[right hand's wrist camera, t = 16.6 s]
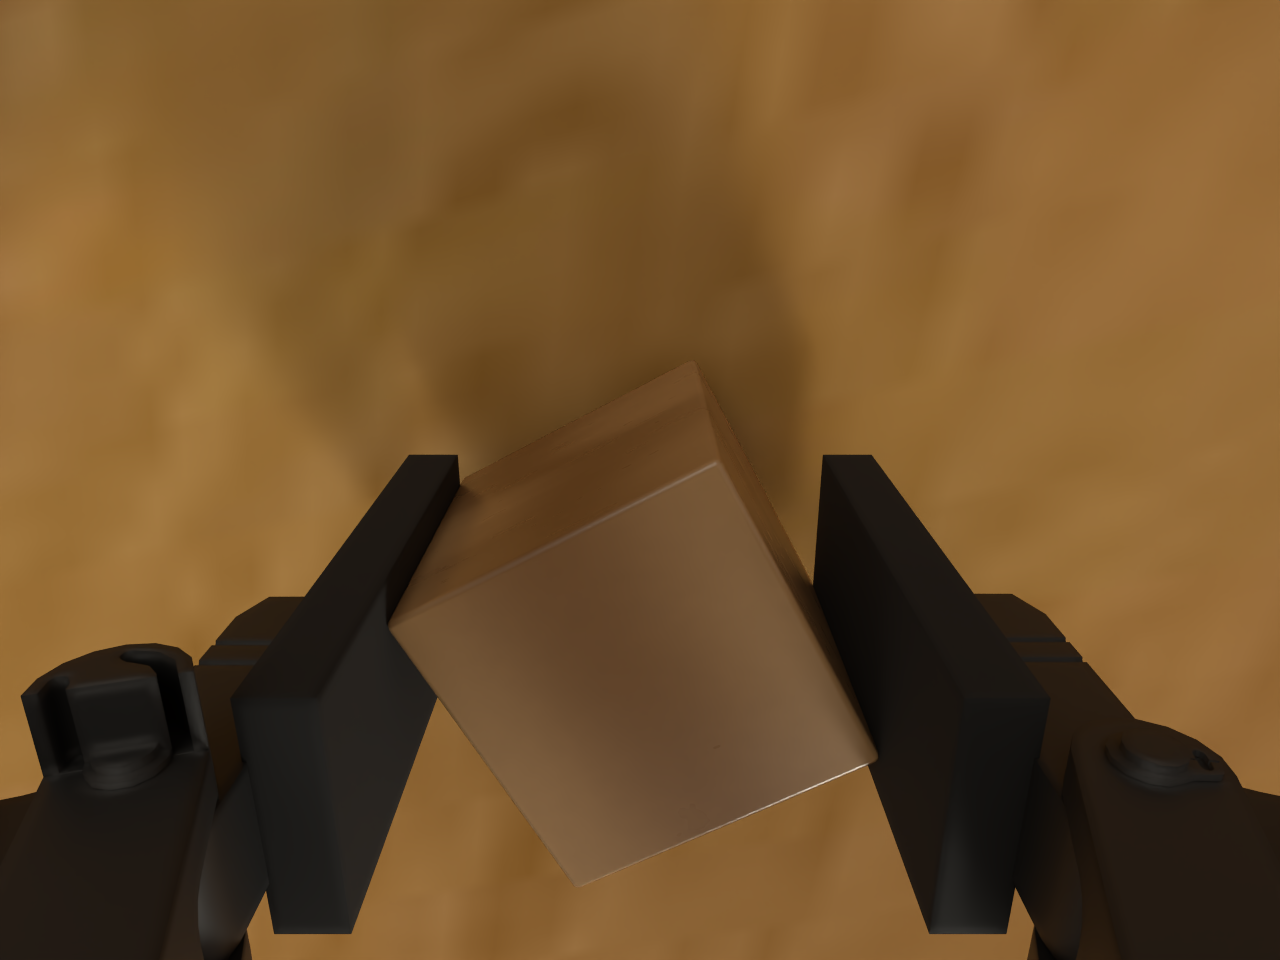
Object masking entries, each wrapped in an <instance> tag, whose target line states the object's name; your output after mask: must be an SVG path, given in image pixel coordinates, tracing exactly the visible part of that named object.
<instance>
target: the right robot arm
mask: <svg viewBox="0 0 1280 960" xmlns="http://www.w3.org/2000/svg"><path fill="white" fill-rule="evenodd" d="M459 487H460V479H459V466H458V455H409V456H408V457H407V458H406V460H405V461H404V462H403V464H402V465H401V467H400V468H399V469H398V471H397V472H396V473H395V475H394V476H393V477H392V479H391V480H390V482H389V483H388V484H387V486H386V487H385V488H384V490H383V491H382V492H381V494H380V495H379V496H378V498H377V499H376V501H375V502H374V503H373V505H372V506H371V507H370V509H369V510H368V511H367V513H366V514H365V515H364V517H363V518H362V520H361V521H360V522H359V524H358V525H357V526H356V528H355V529H354V530H353V532H352V533H351V534H350V536H349V537H348V539H347V540H346V541H345V543H344V544H343V545H342V547H341V548H340V549H339V551H338V552H337V554H336V555H335V556H334V558H333V559H332V560H331V562H330V563H329V564H328V566H327V567H326V568H325V570H324V571H323V573H322V574H321V575H320V577H319V578H318V579H317V581H316V582H315V583H314V585H313V586H312V587H311V589H310V590H309V592H308V593H307V594H306V596H305V597H268V598H267V599H265V600H263V601H262V602H260V603H258V604H257V605H255V606H253V607H252V608H250V609H248V610H247V611H245V612H243V613H242V614H240V615H238V616H237V617H235V619H234V620H233V621H232V622H231V623H230V624H229V626H228V627H227V628H226V629H225V630H224V632H223V633H222V634H221V635H220V636H219V637H218V639H217V640H216V645H212V646H211V647H210V648H209V649H208V650H207V652H206V653H205V654H204V655H203V656H202V657H201V659H200V660H199V665H195V666H194V667H193V662H192V657H191V656H189V655H188V654H186V653H185V652H184V651H182V650H181V649H180V648H178V647H173V646H167V645H162V644H157V643H150V644H129V645H122V646H118V647H113V648H108V649H104V650H99V651H94V652H92V653H89V654H86V655H84V656H81V657H78V658H76V659H73V660H71V661H68V662H65V663H63V664H61V665H59V666H58V667H56V668H54V669H53V670H51V671H49V672H48V673H46V674H44V675H43V676H41V677H39V678H38V679H36V680H35V681H34V683H33V684H32V685H31V686H30V687H29V688H28V689H27V690H26V691H25V692H24V693H23V694H22V695H21V699H22V703H23V706H24V710H25V713H26V717H27V720H28V724H29V727H30V731H31V735H32V738H33V742H34V745H35V749H36V752H37V756H38V759H39V763H40V766H41V770H42V773H43V779H42V781H41V784H40V786H39V788H38V790H37V792H35V793H31V794H27V795H23V796H18V797H13V798H8V799H4V800H0V960H252V956H251V949H250V944H249V939H248V934H247V927H248V925H249V923H250V921H251V919H252V917H253V915H254V913H255V911H256V909H257V907H258V905H259V903H260V901H261V899H262V897H263V895H264V893H265V891H266V893H267V898H268V903H269V908H270V914H271V919H272V924H273V930H274V934H351V933H352V930H353V928H354V925H355V922H356V919H357V917H358V914H359V911H360V908H361V906H362V903H363V900H364V897H365V895H366V892H367V889H368V887H369V884H370V881H371V878H372V876H373V873H374V870H375V867H376V865H377V862H378V859H379V856H380V854H381V851H382V848H383V845H384V843H385V840H386V837H387V834H388V832H389V829H390V826H391V823H392V821H393V818H394V815H395V812H396V810H397V807H398V804H399V801H400V799H401V796H402V793H403V790H404V788H405V785H406V782H407V779H408V777H409V774H410V771H411V768H412V766H413V763H414V760H415V757H416V755H417V752H418V749H419V746H420V744H421V741H422V738H423V735H424V733H425V730H426V727H427V724H428V722H429V719H430V716H431V713H432V711H433V708H434V705H435V702H436V700H437V695H436V694H435V693H434V691H433V690H432V688H431V687H430V686H429V684H428V683H427V682H426V680H425V679H424V677H423V676H422V675H421V673H420V672H419V670H418V669H417V668H416V666H415V665H414V664H413V662H412V661H411V659H410V658H409V657H408V655H407V654H406V652H405V651H404V650H403V648H402V647H401V646H400V644H399V643H398V641H397V640H396V639H395V637H394V636H393V634H392V633H391V632H390V630H389V628H388V622H389V620H390V618H391V616H392V614H393V612H394V610H395V609H396V607H397V605H398V603H399V601H400V599H401V597H402V595H403V593H404V591H405V589H406V588H407V586H408V584H409V582H410V580H411V578H412V576H413V574H414V572H415V570H416V569H417V567H418V565H419V563H420V561H421V559H422V557H423V555H424V553H425V551H426V549H427V548H428V546H429V544H430V542H431V540H432V538H433V536H434V534H435V532H436V530H437V529H438V527H439V525H440V523H441V521H442V519H443V517H444V515H445V513H446V511H447V509H448V508H449V506H450V504H451V502H452V500H453V498H454V496H455V494H456V492H457V490H458V489H459ZM813 587H814V590H815V593H816V595H817V598H818V600H819V603H820V605H821V608H822V610H823V613H824V616H825V618H826V621H827V623H828V626H829V628H830V631H831V633H832V636H833V639H834V641H835V644H836V646H837V649H838V651H839V654H840V656H841V659H842V661H843V664H844V667H845V669H846V672H847V674H848V677H849V679H850V682H851V684H852V687H853V690H854V692H855V695H856V697H857V700H858V702H859V705H860V707H861V710H862V712H863V715H864V718H865V720H866V723H867V725H868V728H869V730H870V733H871V735H872V738H873V741H874V743H875V746H876V748H877V751H878V760H877V761H876V762H874V763H872V764H870V765H868V767H869V769H870V772H871V775H872V778H873V780H874V783H875V786H876V789H877V791H878V794H879V797H880V800H881V802H882V805H883V808H884V811H885V813H886V816H887V819H888V822H889V824H890V827H891V830H892V833H893V835H894V838H895V841H896V844H897V846H898V849H899V852H900V855H901V857H902V860H903V863H904V866H905V868H906V871H907V874H908V877H909V879H910V882H911V885H912V888H913V890H914V893H915V896H916V899H917V901H918V904H919V907H920V909H921V912H922V915H923V918H924V920H925V923H926V926H927V929H928V931H929V934H1006V933H1007V928H1008V923H1009V917H1010V912H1011V907H1012V901H1013V896H1014V891H1015V888H1016V889H1017V891H1018V893H1019V895H1020V897H1021V899H1022V901H1023V903H1024V905H1025V907H1026V909H1027V911H1028V913H1029V915H1030V917H1031V919H1032V921H1033V923H1034V929H1033V934H1032V939H1031V944H1030V949H1029V954H1028V959H1027V960H1280V796H1277V795H1272V794H1267V793H1262V792H1258V791H1254V790H1250V789H1246V788H1242V786H1241V784H1240V782H1239V780H1238V778H1237V776H1236V775H1235V773H1234V772H1233V771H1232V770H1231V768H1230V767H1229V766H1228V765H1227V763H1226V762H1225V761H1224V760H1223V758H1222V757H1221V756H1219V755H1218V754H1216V753H1215V752H1213V751H1212V750H1211V749H1209V748H1208V747H1206V746H1205V745H1203V744H1202V743H1201V742H1199V741H1198V740H1196V739H1194V738H1191V737H1189V736H1187V735H1185V734H1182V733H1180V732H1178V731H1175V730H1173V729H1171V728H1169V727H1166V726H1162V725H1158V724H1154V723H1150V722H1146V721H1142V720H1138V719H1135V718H1134V717H1133V716H1132V715H1131V713H1130V712H1129V711H1128V710H1127V709H1126V708H1125V706H1124V705H1123V704H1122V703H1121V702H1120V701H1119V699H1118V698H1117V697H1116V696H1115V695H1114V694H1113V692H1112V691H1111V690H1110V689H1109V688H1108V687H1107V685H1106V684H1105V683H1104V682H1103V681H1102V680H1101V678H1100V677H1099V676H1098V675H1097V674H1096V673H1095V671H1094V670H1093V669H1092V668H1091V667H1090V666H1089V664H1088V663H1087V662H1083V661H1082V656H1081V655H1080V654H1079V653H1078V652H1077V650H1076V649H1075V648H1074V647H1073V646H1072V645H1071V643H1070V642H1066V640H1065V639H1066V638H1065V636H1064V635H1063V634H1062V633H1061V632H1060V631H1059V629H1058V628H1057V627H1056V626H1055V625H1054V623H1053V622H1052V621H1051V620H1050V619H1049V618H1048V616H1047V615H1046V614H1044V613H1043V612H1041V611H1039V610H1038V609H1036V608H1034V607H1033V606H1031V605H1029V604H1028V603H1026V602H1024V601H1023V600H1021V599H1019V598H1018V597H1016V596H1014V595H1013V594H974V593H973V592H972V591H971V589H970V588H969V587H968V585H967V584H966V582H965V581H964V580H963V578H962V577H961V576H960V574H959V573H958V572H957V570H956V569H955V568H954V566H953V565H952V563H951V562H950V561H949V559H948V558H947V557H946V555H945V554H944V553H943V551H942V550H941V549H940V547H939V546H938V544H937V543H936V542H935V540H934V539H933V538H932V536H931V535H930V534H929V532H928V531H927V530H926V528H925V527H924V525H923V524H922V523H921V521H920V520H919V519H918V517H917V516H916V515H915V513H914V512H913V511H912V509H911V508H910V506H909V505H908V504H907V502H906V501H905V500H904V498H903V497H902V496H901V494H900V493H899V492H898V490H897V489H896V487H895V486H894V485H893V483H892V482H891V481H890V479H889V478H888V477H887V475H886V474H885V472H884V471H883V470H882V468H881V467H880V466H879V464H878V463H877V462H876V460H875V459H874V458H873V456H872V455H823V461H822V474H821V487H820V501H819V514H818V527H817V540H816V554H815V567H814V580H813Z"/></svg>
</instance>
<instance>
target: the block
mask: <svg viewBox="0 0 1280 960" xmlns="http://www.w3.org/2000/svg"><path fill="white" fill-rule="evenodd" d="M388 628H389V630H390V632H391V633H392V634H393V636H394V637H395V639H396V640H397V641H398V643H399V644H400V646H401V647H402V648H403V650H404V651H405V652H406V654H407V655H408V657H409V658H410V659H411V661H412V662H413V664H414V665H415V666H416V668H417V669H418V670H419V672H420V673H421V675H422V676H423V677H424V679H425V680H426V682H427V683H428V684H429V686H430V687H431V688H432V690H433V691H434V693H435V694H436V695H437V697H438V698H439V700H440V701H441V702H442V704H443V705H444V706H445V708H446V709H447V711H448V712H449V713H450V715H451V716H452V718H453V719H454V720H455V722H456V723H457V724H458V726H459V727H460V729H461V730H462V731H463V733H464V734H465V736H466V737H467V738H468V740H469V741H470V742H471V744H472V745H473V747H474V748H475V749H476V751H477V752H478V754H479V755H480V756H481V758H482V759H483V760H484V762H485V763H486V765H487V766H488V767H489V769H490V770H491V772H492V773H493V774H494V776H495V777H496V778H497V780H498V781H499V783H500V784H501V785H502V787H503V788H504V790H505V791H506V792H507V794H508V795H509V796H510V798H511V799H512V801H513V802H514V803H515V805H516V806H517V808H518V809H519V810H520V812H521V813H522V814H523V816H524V817H525V819H526V820H527V821H528V823H529V824H530V826H531V827H532V828H533V830H534V831H535V832H536V834H537V835H538V837H539V838H540V839H541V841H542V842H543V844H544V845H545V846H546V848H547V849H548V850H549V852H550V853H551V855H552V856H553V857H554V859H555V860H556V862H557V863H558V864H559V866H560V867H561V868H562V870H563V871H564V873H565V874H566V875H567V877H568V878H569V880H570V881H571V882H572V884H573V885H574V886H575V887H582V886H584V885H587V884H589V883H591V882H594V881H596V880H598V879H601V878H603V877H605V876H608V875H610V874H613V873H615V872H617V871H620V870H622V869H624V868H627V867H629V866H631V865H634V864H636V863H639V862H641V861H643V860H646V859H648V858H650V857H653V856H655V855H657V854H660V853H662V852H664V851H667V850H669V849H672V848H674V847H676V846H679V845H681V844H683V843H686V842H688V841H690V840H693V839H695V838H698V837H700V836H702V835H705V834H707V833H709V832H712V831H714V830H716V829H719V828H721V827H723V826H726V825H728V824H731V823H733V822H735V821H738V820H740V819H742V818H745V817H747V816H749V815H752V814H754V813H756V812H759V811H761V810H764V809H766V808H768V807H771V806H773V805H775V804H778V803H780V802H782V801H785V800H787V799H790V798H792V797H794V796H797V795H799V794H801V793H804V792H806V791H808V790H811V789H813V788H815V787H818V786H820V785H823V784H825V783H827V782H830V781H832V780H834V779H837V778H839V777H841V776H844V775H846V774H849V773H851V772H853V771H856V770H858V769H860V768H863V767H865V766H867V765H870V764H872V763H874V762H876V761H877V760H878V751H877V748H876V746H875V743H874V741H873V738H872V735H871V733H870V730H869V728H868V725H867V723H866V720H865V718H864V715H863V712H862V710H861V707H860V705H859V702H858V700H857V697H856V695H855V692H854V690H853V687H852V684H851V682H850V679H849V677H848V674H847V672H846V669H845V667H844V664H843V661H842V659H841V656H840V654H839V651H838V649H837V646H836V644H835V641H834V639H833V636H832V633H831V631H830V628H829V626H828V623H827V621H826V618H825V616H824V613H823V610H822V608H821V605H820V603H819V600H818V598H817V595H816V593H815V590H814V587H813V585H812V582H811V580H810V578H809V576H808V574H807V572H806V570H805V568H804V566H803V565H802V563H801V561H800V559H799V557H798V555H797V553H796V551H795V549H794V547H793V545H792V544H791V542H790V540H789V538H788V536H787V534H786V532H785V530H784V528H783V526H782V524H781V523H780V521H779V519H778V517H777V515H776V513H775V511H774V509H773V507H772V505H771V503H770V502H769V500H768V498H767V496H766V494H765V492H764V490H763V488H762V486H761V484H760V482H759V481H758V479H757V477H756V475H755V473H754V471H753V469H752V467H751V465H750V463H749V462H748V460H747V458H746V456H745V454H744V452H743V450H742V448H741V446H740V444H739V442H738V441H737V439H736V437H735V435H734V433H733V431H732V429H731V427H730V425H729V423H728V421H727V420H726V418H725V416H724V414H723V412H722V410H721V408H720V406H719V404H718V402H717V400H716V399H715V397H714V395H713V393H712V391H711V389H710V387H709V385H708V383H707V381H706V379H705V378H704V376H703V374H702V372H701V370H700V368H699V366H698V364H697V363H696V362H695V361H694V360H692V361H688V362H686V363H684V364H682V365H680V366H678V367H677V368H675V369H673V370H671V371H669V372H667V373H665V374H663V375H661V376H659V377H657V378H656V379H654V380H652V381H650V382H648V383H646V384H644V385H642V386H640V387H638V388H636V389H634V390H633V391H631V392H629V393H627V394H625V395H623V396H621V397H619V398H617V399H615V400H613V401H612V402H610V403H608V404H606V405H604V406H602V407H600V408H598V409H596V410H594V411H592V412H590V413H589V414H587V415H585V416H583V417H581V418H579V419H577V420H575V421H573V422H571V423H569V424H568V425H566V426H564V427H562V428H560V429H558V430H556V431H554V432H552V433H550V434H548V435H546V436H545V437H543V438H541V439H539V440H537V441H535V442H533V443H531V444H529V445H527V446H525V447H523V448H522V449H520V450H518V451H516V452H514V453H512V454H510V455H508V456H506V457H504V458H502V459H501V460H499V461H497V462H495V463H493V464H491V465H489V466H487V467H485V468H483V469H481V470H479V471H478V472H476V473H474V474H472V475H470V476H468V477H466V478H464V480H463V481H462V483H461V485H460V487H459V489H458V490H457V492H456V494H455V496H454V498H453V500H452V502H451V504H450V506H449V508H448V509H447V511H446V513H445V515H444V517H443V519H442V521H441V523H440V525H439V527H438V529H437V530H436V532H435V534H434V536H433V538H432V540H431V542H430V544H429V546H428V548H427V549H426V551H425V553H424V555H423V557H422V559H421V561H420V563H419V565H418V567H417V569H416V570H415V572H414V574H413V576H412V578H411V580H410V582H409V584H408V586H407V588H406V589H405V591H404V593H403V595H402V597H401V599H400V601H399V603H398V605H397V607H396V609H395V610H394V612H393V614H392V616H391V618H390V620H389V622H388Z"/></svg>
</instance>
